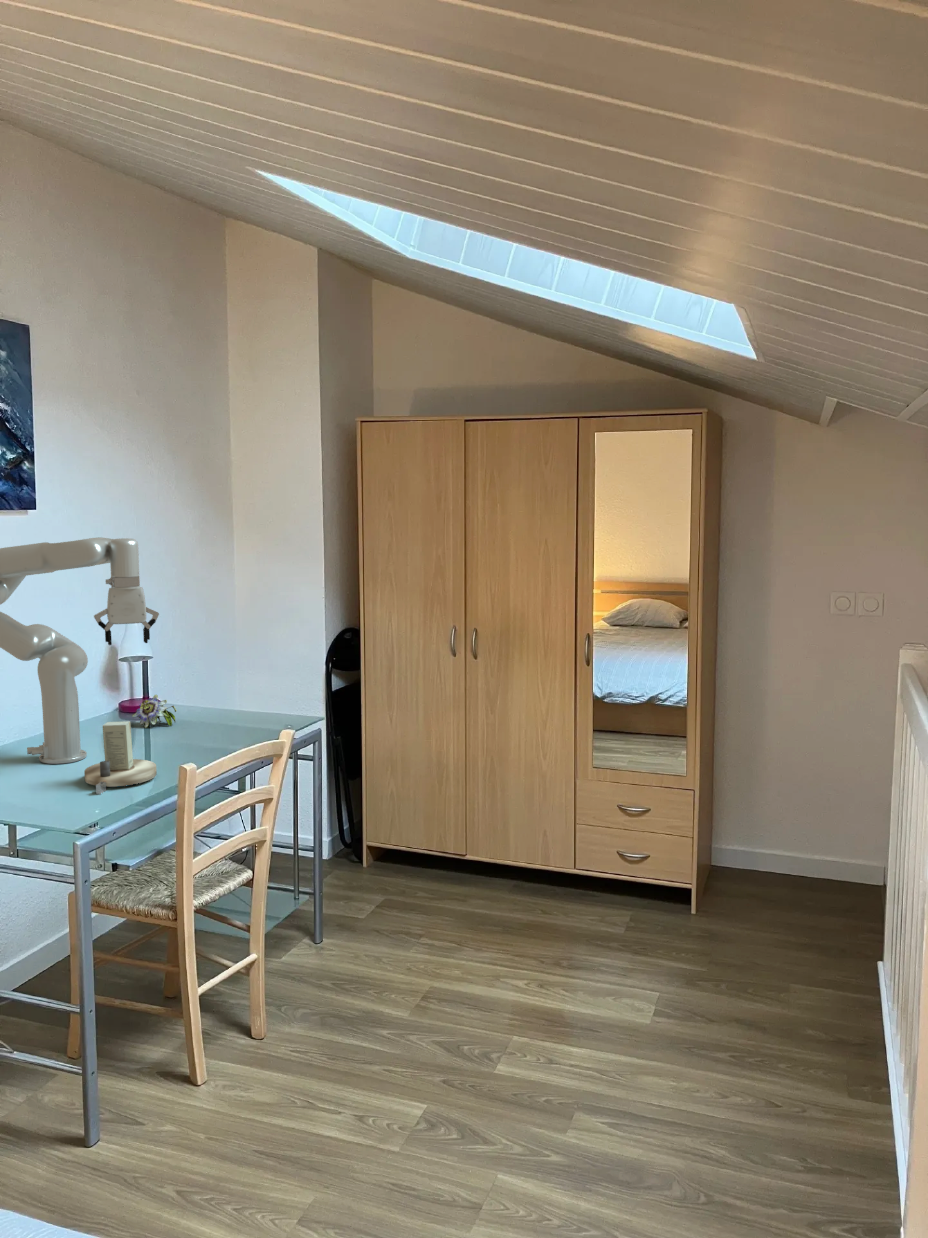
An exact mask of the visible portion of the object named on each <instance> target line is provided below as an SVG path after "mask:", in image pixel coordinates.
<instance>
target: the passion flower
mask: <svg viewBox="0 0 928 1238" xmlns="http://www.w3.org/2000/svg"><path fill="white" fill-rule="evenodd" d="M158 699H159V697H158V695H157V694H154V695H153V696H152V697H150V698H148V699H145V700H142V702H141V703H140V704H138V706H139V708H137V709H136V710H135V713H133V714H132V715H131V716H132V718H138V719H139V725H140V726H141V725H144V729H147V728H149V726H150V723H151V724H152V725H153V726H155V725H157V722H158V721H159V722H160V723H162V721H161V717H163V718H164V719H165V721H166V723H167V725H168V726H169V727H172V726H173V721H174V723H176V717H175V714H173V713H172V712H171V711H168V709H170V708H173V710H174V712H175V713H176V712H177V708H176V707H175V705H172V706H169V707H167V706H164V705H166V704H167V703H168V700H167V699H164V700H158Z"/></svg>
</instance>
